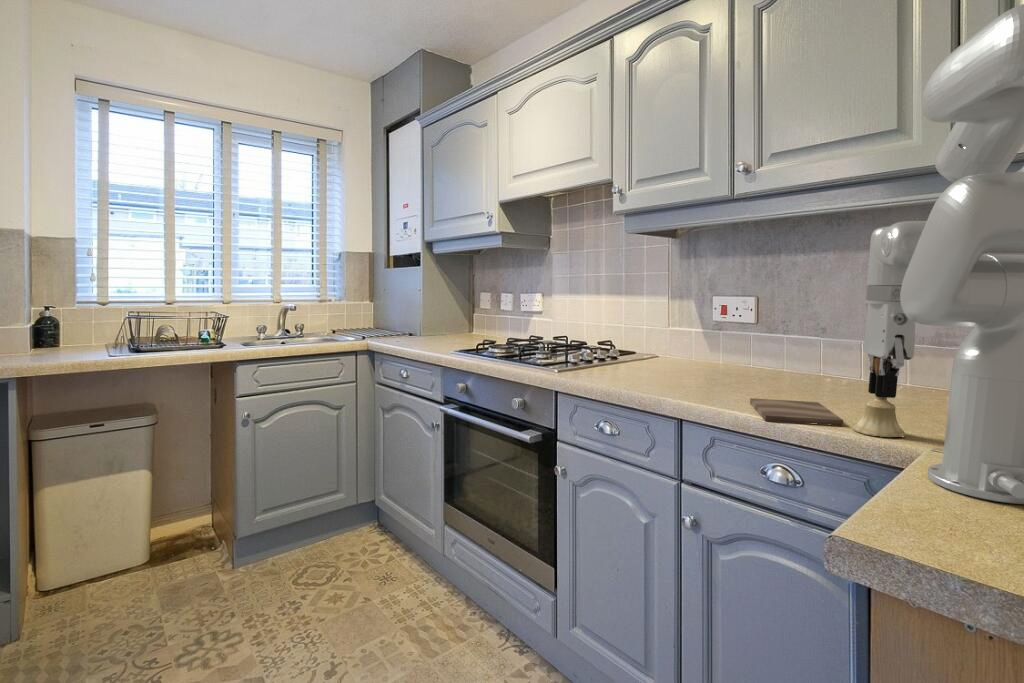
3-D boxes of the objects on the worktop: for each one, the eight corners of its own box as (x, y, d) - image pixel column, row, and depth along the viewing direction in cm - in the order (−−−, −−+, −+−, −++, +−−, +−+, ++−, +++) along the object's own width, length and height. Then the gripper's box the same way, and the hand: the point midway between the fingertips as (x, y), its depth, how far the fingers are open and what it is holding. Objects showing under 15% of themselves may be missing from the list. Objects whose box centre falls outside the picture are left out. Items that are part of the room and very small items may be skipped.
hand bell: (897, 441, 96) (905, 351, 95) (845, 431, 103) (852, 346, 101) (911, 433, 102) (919, 348, 100) (861, 424, 108) (868, 343, 106)
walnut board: (842, 426, 106) (843, 420, 106) (765, 421, 110) (765, 415, 109) (817, 407, 122) (817, 402, 122) (750, 403, 125) (750, 398, 125)
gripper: (937, 297, 91) (926, 406, 93) (894, 294, 106) (885, 388, 108) (886, 296, 92) (876, 403, 95) (851, 294, 108) (843, 386, 110)
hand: (881, 394), depth 101 cm, fingers closed on hand bell
